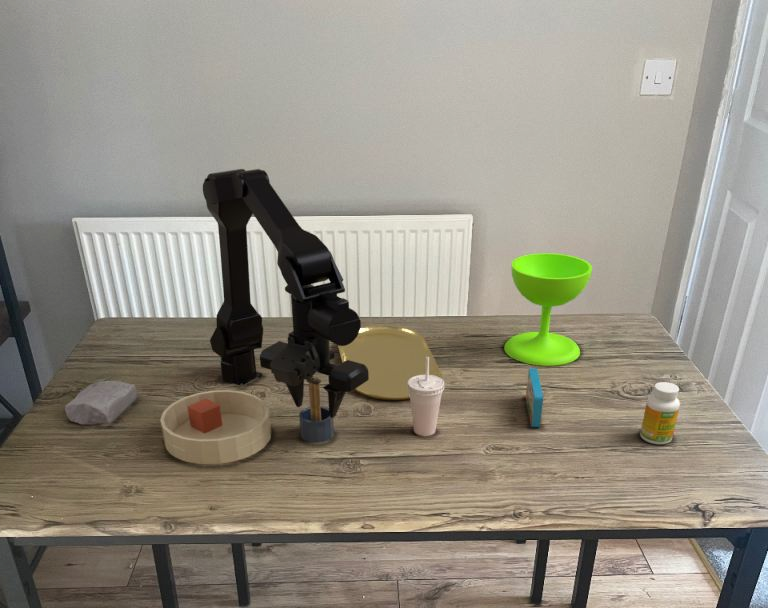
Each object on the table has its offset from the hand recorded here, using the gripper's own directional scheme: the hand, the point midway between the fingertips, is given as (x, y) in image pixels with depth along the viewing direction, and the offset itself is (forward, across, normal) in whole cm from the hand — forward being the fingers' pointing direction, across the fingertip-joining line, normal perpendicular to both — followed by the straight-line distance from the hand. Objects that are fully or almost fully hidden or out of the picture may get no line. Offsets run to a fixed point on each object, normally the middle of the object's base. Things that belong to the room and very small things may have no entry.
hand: (315, 411), depth 138 cm
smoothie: (+5, +15, +12) cm, 20 cm away
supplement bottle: (+5, +50, +32) cm, 59 cm away
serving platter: (+5, -6, +32) cm, 33 cm away
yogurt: (+5, +28, +28) cm, 40 cm away
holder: (+5, 0, 0) cm, 5 cm away
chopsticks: (+5, 0, 0) cm, 5 cm away
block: (+4, -18, -8) cm, 21 cm away
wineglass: (+5, +18, +56) cm, 59 cm away
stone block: (+5, -40, -14) cm, 43 cm away
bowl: (+5, -14, -10) cm, 18 cm away
